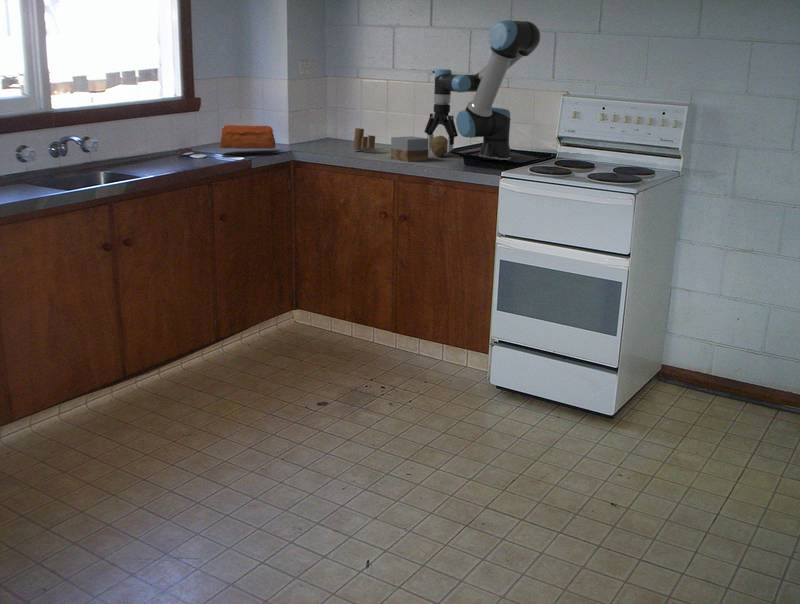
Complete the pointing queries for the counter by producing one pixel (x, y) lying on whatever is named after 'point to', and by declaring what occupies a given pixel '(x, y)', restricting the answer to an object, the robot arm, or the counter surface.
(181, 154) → the counter surface
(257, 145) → the bread
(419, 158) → the tower base slab
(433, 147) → the natural sponge
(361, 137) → the wooden block set
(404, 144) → the tower top slab
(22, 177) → the counter surface
